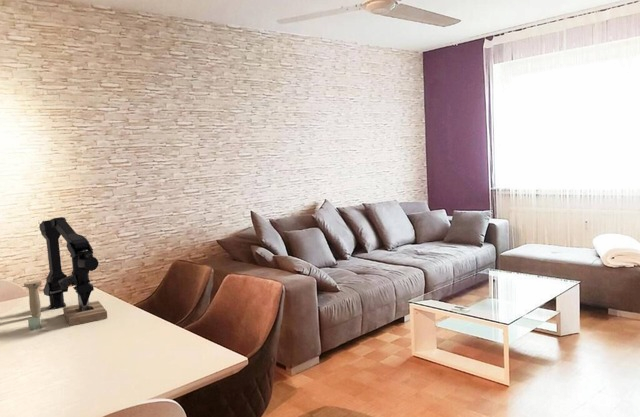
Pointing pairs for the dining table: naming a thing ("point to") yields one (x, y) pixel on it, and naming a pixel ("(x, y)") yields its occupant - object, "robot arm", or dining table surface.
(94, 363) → the dining table surface
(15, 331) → the dining table surface
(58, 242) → the robot arm
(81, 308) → the long pin
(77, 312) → the board
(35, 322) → the short pin
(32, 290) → the handle
